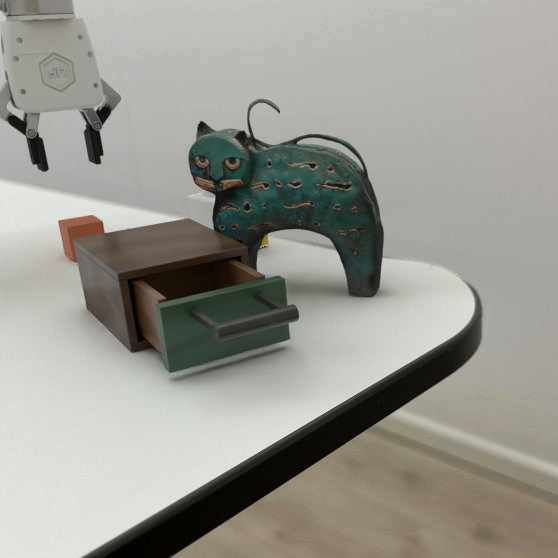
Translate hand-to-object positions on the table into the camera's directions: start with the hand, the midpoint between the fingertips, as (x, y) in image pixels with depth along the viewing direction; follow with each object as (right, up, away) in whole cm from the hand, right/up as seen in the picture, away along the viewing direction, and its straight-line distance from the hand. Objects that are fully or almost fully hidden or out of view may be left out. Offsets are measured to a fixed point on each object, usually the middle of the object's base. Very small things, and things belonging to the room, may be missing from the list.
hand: (69, 165), depth 95 cm
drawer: (+23, -23, -26) cm, 42 cm away
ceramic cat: (+29, -16, -10) cm, 35 cm away
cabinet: (+16, -20, -16) cm, 30 cm away
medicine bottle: (+19, -10, +5) cm, 22 cm away
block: (0, -10, +5) cm, 12 cm away
